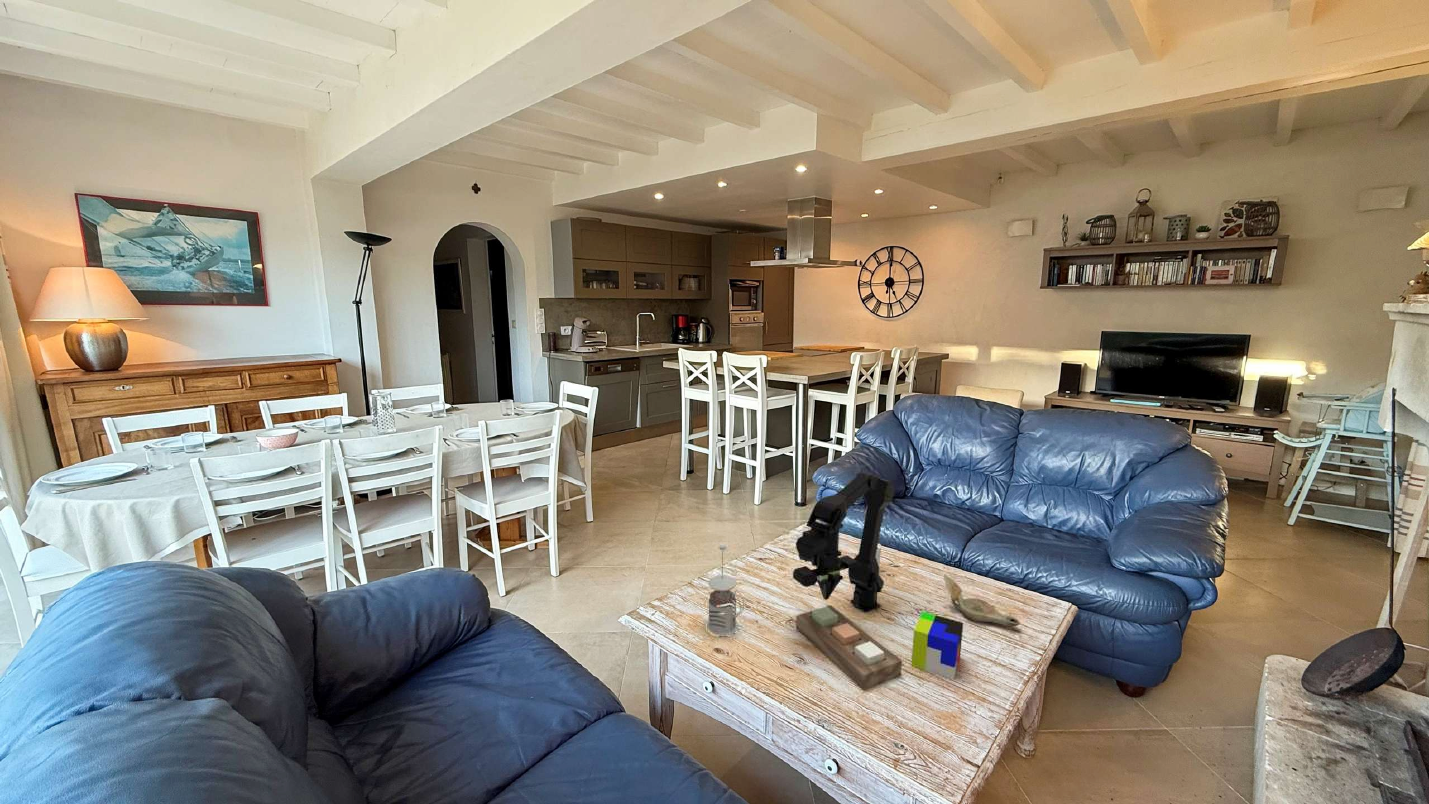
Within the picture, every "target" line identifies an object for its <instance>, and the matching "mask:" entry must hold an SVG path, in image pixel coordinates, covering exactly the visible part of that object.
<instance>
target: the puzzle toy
mask: <svg viewBox="0 0 1429 804" xmlns="http://www.w3.org/2000/svg"><path fill="white" fill-rule="evenodd" d="M963 628H964V622H962V621H958V620H954V619H951V618H947V617H944V616H940V615H937V614H933V613H930V612H926V611H922V612H921V613H920V616H919V618H918V620H917V622H916V625H915V627H914V630H913V640H912V652H911V654H912V655H911V666H912V667H914V668H918V669H919V670H924V671H925V672H926V671H927V672H929V673H932V674H936V675H938V676H941V677H945V678H947V679H950V680H952V681H953V680H955V677H956V672H957V670H958V666H959V662H960V660H961V655H962V654H961V652H962V650H961V649H962V643H963V641H962V640H963Z"/></svg>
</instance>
